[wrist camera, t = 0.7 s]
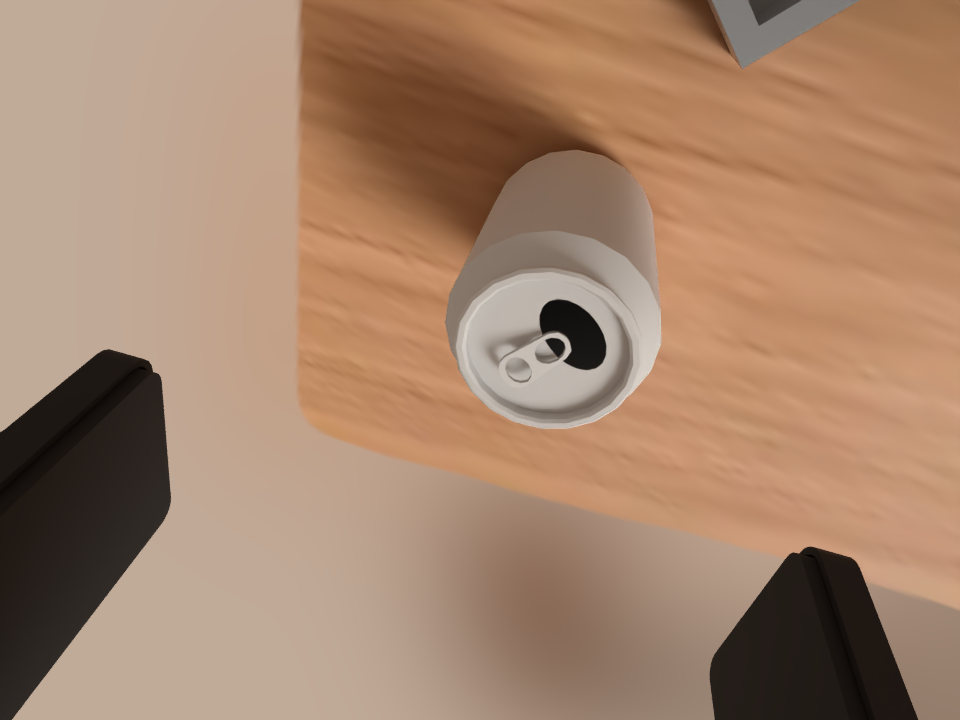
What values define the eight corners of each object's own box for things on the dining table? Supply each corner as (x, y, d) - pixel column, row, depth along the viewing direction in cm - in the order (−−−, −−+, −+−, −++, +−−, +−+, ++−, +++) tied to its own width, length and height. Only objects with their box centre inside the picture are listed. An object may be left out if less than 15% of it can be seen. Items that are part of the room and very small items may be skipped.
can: (682, 249, 31) (706, 397, 21) (547, 318, 34) (515, 475, 24) (600, 110, 28) (585, 205, 19) (463, 200, 32) (389, 321, 22)
